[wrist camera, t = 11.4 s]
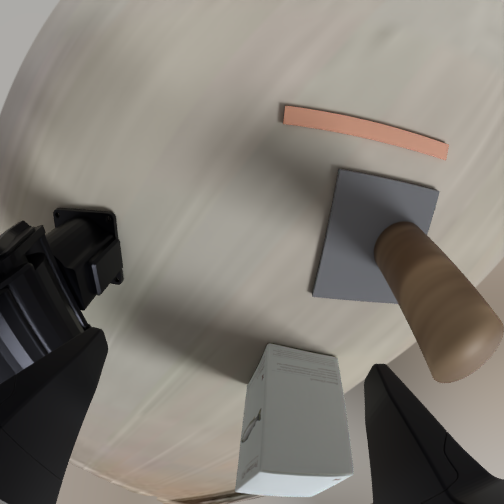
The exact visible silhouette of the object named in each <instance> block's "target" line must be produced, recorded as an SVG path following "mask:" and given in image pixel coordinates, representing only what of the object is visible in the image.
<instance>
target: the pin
mask: <svg viewBox="0 0 504 504" xmlns="http://www.w3.org/2000/svg"><path fill="white" fill-rule="evenodd" d="M374 259H375V262H376V264H377V265H378V267H379V269H380V271H381V272H382V274H383V276H384V278H385V280H386V281H387V283H388V285H389V287H390V289H391V291H392V293H393V294H394V296H395V298H396V300H397V302H398V304H399V306H400V308H401V310H402V312H403V314H404V316H405V318H406V320H407V322H408V324H409V326H410V328H411V330H412V332H413V334H414V336H415V338H416V340H417V342H418V344H419V347H420V349H421V351H422V353H423V355H424V358H425V360H426V362H427V365H428V367H429V369H430V371H431V374H432V376H433V378H434V380H436V381H437V382H440V383H451V382H455V381H458V380H460V379H463V378H465V377H467V376H469V375H470V374H472V373H473V372H475V371H476V370H478V369H479V368H480V367H481V366H482V365H484V364H485V363H486V361H488V360H489V358H490V357H491V356H492V355H493V354H494V352H495V351H496V349H497V348H498V346H499V344H500V342H501V340H502V337H503V332H504V327H503V323H502V322H501V320H500V319H499V318H498V316H497V315H496V314H495V312H494V311H493V310H492V308H491V307H490V306H489V304H488V303H487V302H486V301H485V300H484V298H483V297H482V296H481V295H480V293H479V292H478V291H477V290H476V288H475V287H474V286H473V285H472V284H471V282H470V281H469V280H468V279H467V278H466V277H465V276H464V274H463V273H462V272H461V271H460V270H459V269H458V268H457V266H456V265H455V264H454V263H453V262H452V261H451V260H450V259H449V258H448V257H447V256H446V255H445V253H444V252H443V251H442V250H441V249H440V248H439V247H438V246H437V245H436V244H435V243H434V242H433V241H432V240H431V239H430V238H429V237H428V236H427V235H426V234H425V233H424V232H423V231H422V230H421V229H420V228H419V227H418V226H417V225H415V224H413V223H411V222H405V221H404V222H397V223H394V224H392V225H390V226H389V227H387V228H386V229H385V230H384V231H383V232H382V233H381V234H380V236H379V237H378V239H377V241H376V243H375V247H374Z"/></svg>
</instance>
